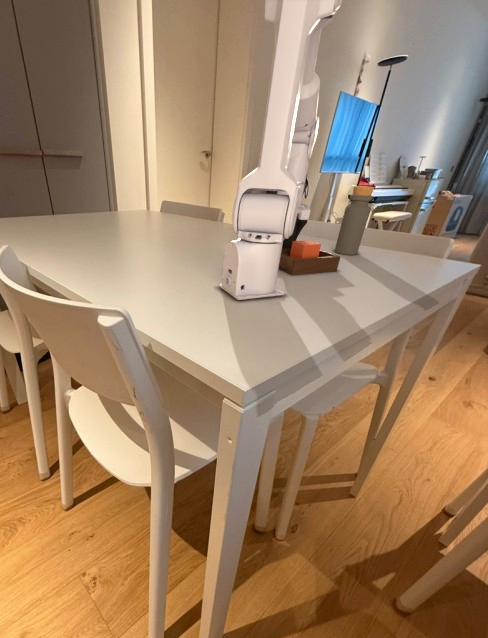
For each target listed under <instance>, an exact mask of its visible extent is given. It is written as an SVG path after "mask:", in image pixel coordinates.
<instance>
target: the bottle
mask: <svg viewBox="0 0 488 638" xmlns="http://www.w3.org/2000/svg"><path fill="white" fill-rule="evenodd" d="M374 189H375V186H369V185H354V186H353V189H352V194H350V196H349V200H350V204H348V205H346V206H345V208H344V212H343V217H342V220H341V224H340V228H339V232H338V235H337V239H336V243H335V246H334V252H335V253H336V254H341V255H348V256H349V255H350V256H351V255H352V256H353V255H357V254H358V252H359V249H360V246H361V243H362V240H363V236H364V233H365V229H366V226H367V223H368V219H369V216H370V212H371V207H370V205H369V202H370V201H372V200H373V195H372V193H373V192H374Z"/></svg>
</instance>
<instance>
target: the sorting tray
mask: <svg viewBox="0 0 488 638" xmlns="http://www.w3.org/2000/svg"><path fill="white" fill-rule="evenodd" d="M290 253H291V248H283V249H282V250H281V256H280V262H279V268H278V270H281V271H283V272H285V273H288V274H290V275H292V276H297V275H298V276H299V275H308V274H318V273H331V272H337V271H338V267H339V264H340V260H341V255H339V254H338V255H337V254H335V253H331V252H330V251H326V250H324V249H320V251H319V256H318V257H314V258H300V259H296V258H294V257H291V256H290Z"/></svg>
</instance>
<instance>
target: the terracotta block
mask: <svg viewBox="0 0 488 638" xmlns="http://www.w3.org/2000/svg"><path fill="white" fill-rule="evenodd" d="M321 246H322V243H319V242H316V241H313V240H309V239H308V240H307V239H305V240H296V241H293V242H292V248H291V253H290V256H291V257H294V258H296V259H300V258H314V257H318V256H319V251H320V250H321Z"/></svg>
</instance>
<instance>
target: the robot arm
mask: <svg viewBox="0 0 488 638" xmlns="http://www.w3.org/2000/svg"><path fill="white" fill-rule="evenodd" d="M342 2H343V0H265V1H264V21H265V22H269V23H272V24H274V29H275V30H274V31H275V39H274V47H273V52H272V53H273V54H272V61H271V69H270V77H269V83H268V90H267V92H268V93H267V99H266V106H265V113H264V122H263V128H262V129H263V130H262V135H261V142H260V150H259V157H258V165H257V167H255V169H253V170H251V172H250V173H248V174H247V175H246V176H244V177H243V178H242V179H241V180H240V181H239V182H238V185H237V188H236V195H235V198H234V202H233V207H232V211H231V227H232V230H233V231H234V234H236V235H237V239H236V240H231V241H229V242H227V243H226V245H225V248H224V252H223V260H222V273H221V274H222V275H221V283H219V287H220V288H221V289H222V290H223V291H225V292H226V293H227V294H229V295H230V296H232V297H233V298H234V299H236V300H238V301H241V300H251V299H260V298H261V299H262V298H269V297H278V296H279V297H280V296H284V295H285V291H283V290H281V289H279V288H278V287H277V286H276V285H277V279H278V273H279V262H280V256H281V250H282V245H283V248H292V242H293V241H297V240H298V237H299V235H300V234H301V232H302V231H303V229H304V228H305V226H306V225H307V224H308V220H309V219H310V215H311V209H310V208H306V207H305V205H302V200H303V196H304V191H305V185H306V180H307V175H308V170H309V165H310V159H311V158H312V154H313V149H314V146H315V143H316V139H317V136H318V130H319V123H320V116H319V115H318V116H317V114H318V106H319V97H320V89H321V88H320V87H321V79H320V77H319V74H318V73H316V71H315V70H316V66H317V60H318V55H319V49H320V41H321V37H322V31H323V28H325V27H326V26H327V25H329V24H330V23H331V22H333V20H334V16H335V14H336V13H337V12H338V10H339V9H340V7H341V5H342ZM255 191H265V192H266V191H268V192H276V193H262V192H261V193H260V192H255Z"/></svg>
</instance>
